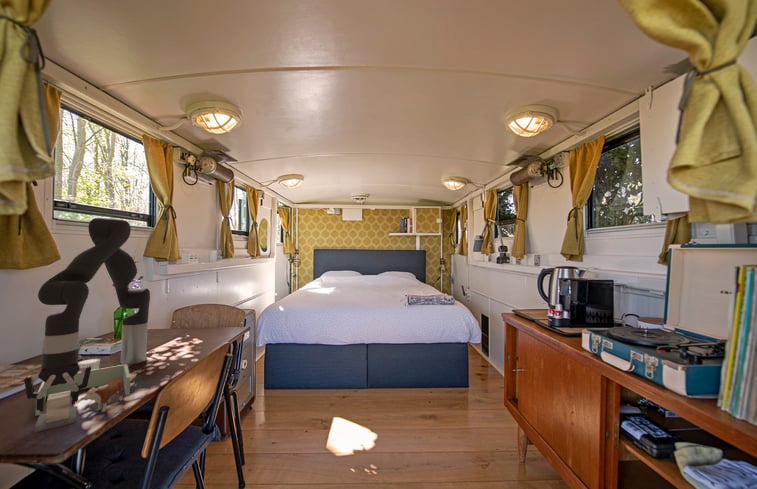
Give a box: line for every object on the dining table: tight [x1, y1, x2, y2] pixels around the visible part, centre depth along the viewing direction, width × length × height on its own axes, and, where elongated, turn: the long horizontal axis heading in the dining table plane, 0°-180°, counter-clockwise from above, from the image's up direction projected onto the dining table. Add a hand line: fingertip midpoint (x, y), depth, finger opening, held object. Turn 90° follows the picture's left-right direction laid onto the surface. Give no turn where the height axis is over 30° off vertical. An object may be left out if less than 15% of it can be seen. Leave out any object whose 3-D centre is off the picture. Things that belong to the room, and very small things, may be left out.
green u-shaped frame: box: [34, 364, 131, 417], centre depth 106 cm, size 18×22×6 cm
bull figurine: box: [83, 378, 124, 413], centre depth 98 cm, size 4×13×8 cm, turn 4°
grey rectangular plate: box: [33, 405, 78, 434], centre depth 90 cm, size 12×8×1 cm, turn 42°
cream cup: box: [78, 358, 101, 372], centre depth 120 cm, size 7×7×7 cm
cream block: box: [45, 390, 72, 423], centre depth 91 cm, size 5×5×6 cm
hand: (57, 406), depth 90 cm, fingers open, 6 cm apart
